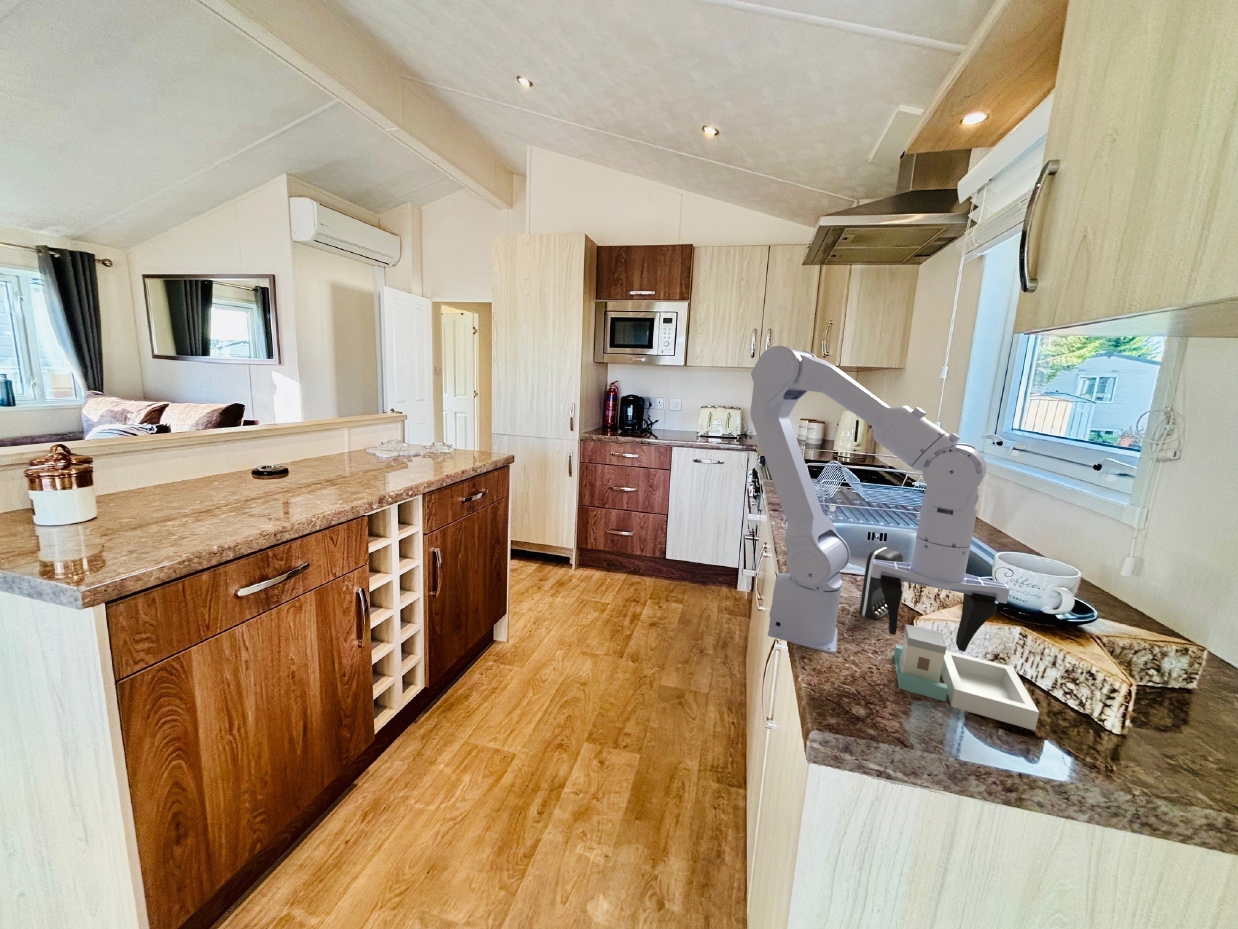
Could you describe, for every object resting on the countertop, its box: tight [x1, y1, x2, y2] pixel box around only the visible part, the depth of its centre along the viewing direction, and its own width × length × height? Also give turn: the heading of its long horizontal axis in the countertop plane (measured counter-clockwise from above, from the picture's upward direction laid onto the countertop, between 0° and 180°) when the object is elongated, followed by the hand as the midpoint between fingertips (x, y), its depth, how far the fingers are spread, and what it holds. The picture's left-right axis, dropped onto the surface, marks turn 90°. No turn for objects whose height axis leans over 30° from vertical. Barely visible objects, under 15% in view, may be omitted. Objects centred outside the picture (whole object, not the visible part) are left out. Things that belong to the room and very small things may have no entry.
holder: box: [893, 644, 948, 702], centre depth 63 cm, size 8×5×2 cm, turn 154°
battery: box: [858, 546, 904, 621], centre depth 80 cm, size 7×4×11 cm, turn 131°
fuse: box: [899, 623, 947, 682], centre depth 63 cm, size 4×4×6 cm
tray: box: [940, 650, 1040, 731], centre depth 60 cm, size 8×10×3 cm
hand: (925, 639), depth 62 cm, fingers open, 7 cm apart
